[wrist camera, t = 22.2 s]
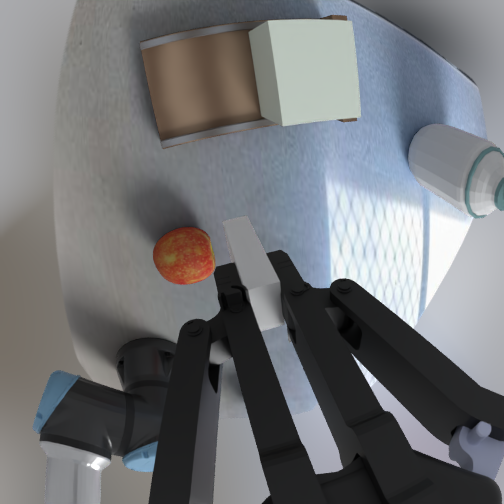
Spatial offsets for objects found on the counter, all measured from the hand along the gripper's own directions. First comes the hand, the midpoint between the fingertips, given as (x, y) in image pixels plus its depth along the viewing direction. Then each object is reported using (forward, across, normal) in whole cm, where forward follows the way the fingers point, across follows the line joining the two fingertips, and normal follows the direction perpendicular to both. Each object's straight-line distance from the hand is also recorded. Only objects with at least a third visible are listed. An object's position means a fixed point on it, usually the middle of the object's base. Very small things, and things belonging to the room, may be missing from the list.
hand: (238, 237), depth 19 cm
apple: (+25, -6, -13) cm, 28 cm away
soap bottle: (+25, +38, -6) cm, 46 cm away
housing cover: (+21, +12, +9) cm, 26 cm away
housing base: (+24, +7, +9) cm, 27 cm away
